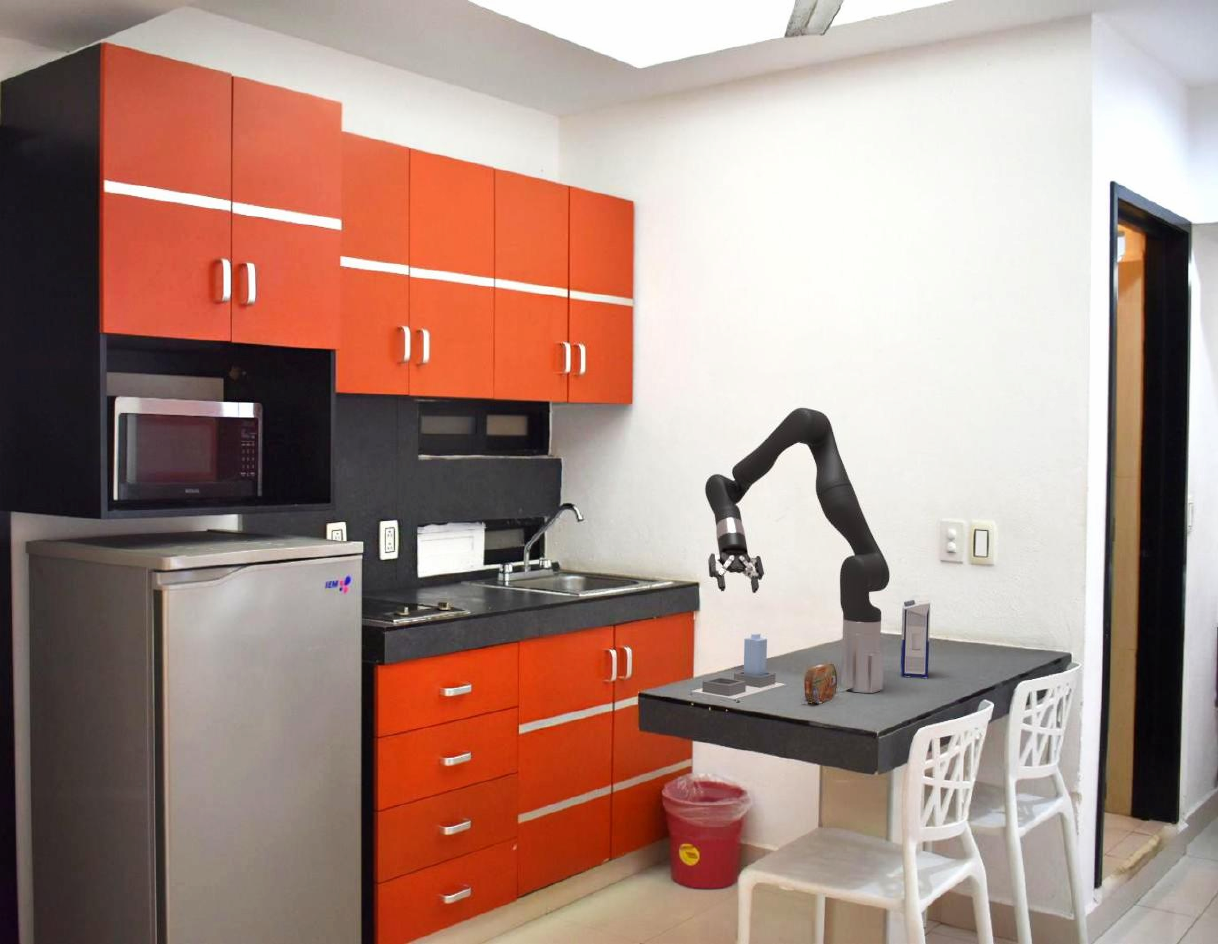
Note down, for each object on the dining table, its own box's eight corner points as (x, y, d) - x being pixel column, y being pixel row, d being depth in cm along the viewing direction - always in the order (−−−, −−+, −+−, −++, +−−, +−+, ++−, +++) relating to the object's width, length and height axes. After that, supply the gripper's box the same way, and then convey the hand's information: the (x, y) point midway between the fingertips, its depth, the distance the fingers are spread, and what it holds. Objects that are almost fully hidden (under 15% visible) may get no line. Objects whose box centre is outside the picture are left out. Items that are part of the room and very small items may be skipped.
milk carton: (927, 678, 313) (930, 602, 312) (901, 677, 314) (903, 601, 314) (926, 673, 320) (928, 599, 319) (900, 672, 321) (902, 597, 320)
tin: (813, 707, 274) (815, 670, 274) (801, 705, 276) (802, 668, 276) (838, 696, 287) (839, 661, 287) (825, 694, 289) (826, 660, 288)
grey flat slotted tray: (785, 688, 295) (786, 674, 295) (734, 703, 276) (734, 688, 276) (744, 681, 302) (744, 667, 302) (691, 695, 283) (691, 680, 283)
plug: (765, 683, 295) (767, 634, 295) (757, 685, 292) (758, 636, 292) (751, 681, 297) (753, 632, 297) (743, 683, 294) (744, 634, 294)
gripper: (709, 529, 315) (716, 581, 305) (760, 532, 318) (769, 584, 308) (702, 545, 321) (709, 597, 311) (753, 548, 324) (761, 599, 314)
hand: (739, 590), depth 309 cm, fingers open, 8 cm apart
